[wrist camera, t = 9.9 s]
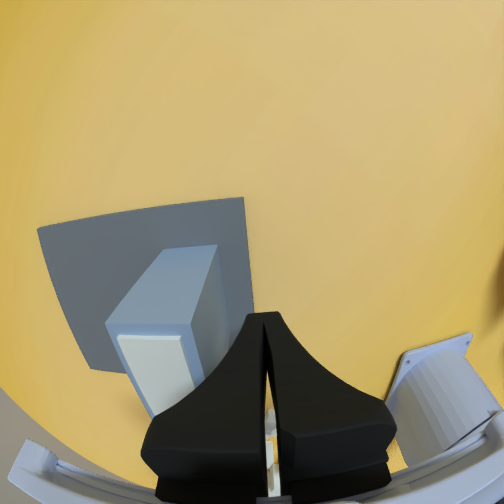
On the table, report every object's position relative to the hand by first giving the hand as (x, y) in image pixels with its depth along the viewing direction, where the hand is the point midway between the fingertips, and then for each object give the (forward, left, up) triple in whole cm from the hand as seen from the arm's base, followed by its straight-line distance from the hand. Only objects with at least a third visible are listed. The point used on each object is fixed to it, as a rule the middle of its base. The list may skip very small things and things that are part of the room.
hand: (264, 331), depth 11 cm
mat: (-1, +7, -4) cm, 9 cm away
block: (0, +4, -4) cm, 5 cm away
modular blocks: (-21, 0, -5) cm, 21 cm away
